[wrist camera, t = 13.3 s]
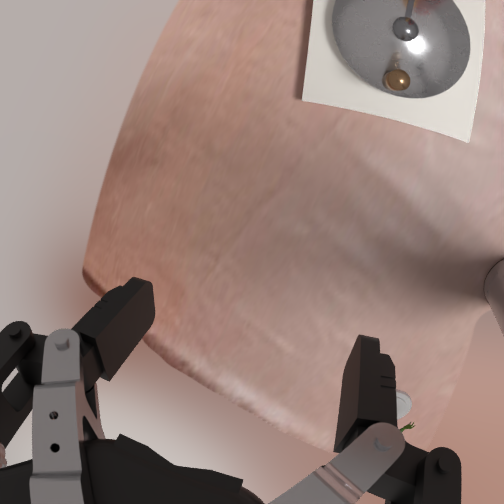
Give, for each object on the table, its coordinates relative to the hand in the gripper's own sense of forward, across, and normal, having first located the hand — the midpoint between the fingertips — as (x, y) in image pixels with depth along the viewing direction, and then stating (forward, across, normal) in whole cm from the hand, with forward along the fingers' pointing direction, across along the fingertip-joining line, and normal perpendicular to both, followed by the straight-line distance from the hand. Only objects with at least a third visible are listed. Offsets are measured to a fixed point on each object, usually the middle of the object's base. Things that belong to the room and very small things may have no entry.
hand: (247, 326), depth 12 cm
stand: (+34, -8, -18) cm, 39 cm away
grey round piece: (+32, -8, -18) cm, 38 cm away
